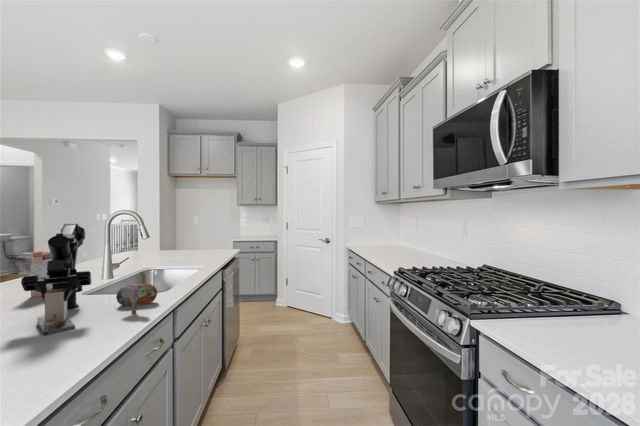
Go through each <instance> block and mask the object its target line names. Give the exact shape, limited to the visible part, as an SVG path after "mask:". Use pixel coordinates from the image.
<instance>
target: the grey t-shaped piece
mask: <svg viewBox="0 0 640 426" xmlns="http://www.w3.org/2000/svg"><path fill="white" fill-rule="evenodd" d="M125 286H126V287H125ZM125 286H123V287H121V288H120V289H121V291H122V296H123V297H126V298H130V302H131V303H132V306H131V314H135V313H137V305H136V301H138V300H137V298H141V297H144V296H145V295H146V291H147V290H146V289H145V288H141V289H138V287H134V286H131V285H125ZM138 294H140V295H138Z"/></svg>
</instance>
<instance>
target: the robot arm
mask: <svg viewBox="0 0 640 426" xmlns="http://www.w3.org/2000/svg"><path fill="white" fill-rule="evenodd" d="M62 226H63V227H62V228H61V229H60V233H56V234H55V235H54V236H52V237H50V238H49V239H48V241H47V244H48V245H47V246H48V250H50V253H51V255H52V261H48V263H47V276H49V278H44V277H38V275H32V276H31V275H25V276H23V277H22V278H21V281H20V283H21V287H22V288H23V291H24V292H29V291H30V292H31V291H33V290H36V291H37V292H41V294H42V296H43V297H42V299H43V304H45V293H46V292H47V287H46V285H47V284H52V286H53V289H63V288H67V290H66V293H65V301H67V310H70V309H74V308H79V307H80V305H79V304H78V303H77V293H80V292H82V291H83V286H90V285H91V284H92V273H91V271H89V270H84V271H83V270H82V271H77V269H76V265H77V259H78V258H77V256H78V250H79V248H80V247H81V246H83V244H84V240H86V230H85V228H83V227H82V226H80V224H79V223H64V224H63V225H62Z"/></svg>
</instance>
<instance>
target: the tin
mask: <svg viewBox="0 0 640 426" xmlns="http://www.w3.org/2000/svg"><path fill="white" fill-rule="evenodd" d="M126 286H127V285H125V286H124V287H126ZM130 286H134V287H138V289H141V288H145V289H146V290H147V291H146V295H145V296H144V297H141V298H137V300H138V301H136V306H141V305H142V306H143V305H150V304H151V303H153V302H154V301H155V300H156V298H157V295H158V289H157V288H156V287H155V286H154V285H152V283H151V284H150V283H145V284H143V283H142V284H133V285H132V284H131V285H130ZM138 295H140V294H138ZM116 301H117V303H118V304H119V305H120V306H123V307H129V306H131V307H132V303H131V302H130V298H126V297H123V296H122V291H121V288H120V289H119V290H118V291H117V294H116Z"/></svg>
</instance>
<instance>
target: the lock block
mask: <svg viewBox="0 0 640 426" xmlns="http://www.w3.org/2000/svg"><path fill="white" fill-rule="evenodd" d="M66 290H67V288H63V289H52V290H48V291H47V292H46V293H45V303H44V320H45V323H49V322H56V321H64V320H65V318H66V317H68V309H67V301H65V293H66Z"/></svg>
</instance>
